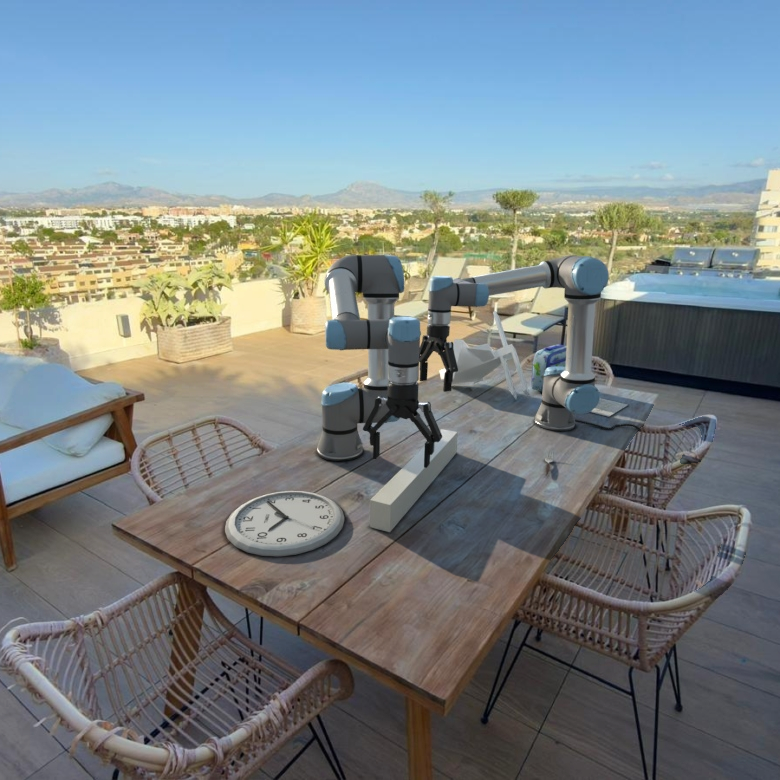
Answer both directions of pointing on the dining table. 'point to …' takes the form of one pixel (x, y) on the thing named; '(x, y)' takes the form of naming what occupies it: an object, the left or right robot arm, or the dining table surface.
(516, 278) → the right robot arm
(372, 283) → the left robot arm
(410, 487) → the beam
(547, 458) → the fork
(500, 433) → the dining table surface
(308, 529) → the wall clock
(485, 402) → the dining table surface
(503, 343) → the white plastic object
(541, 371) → the lunch box
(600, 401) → the invitation card
